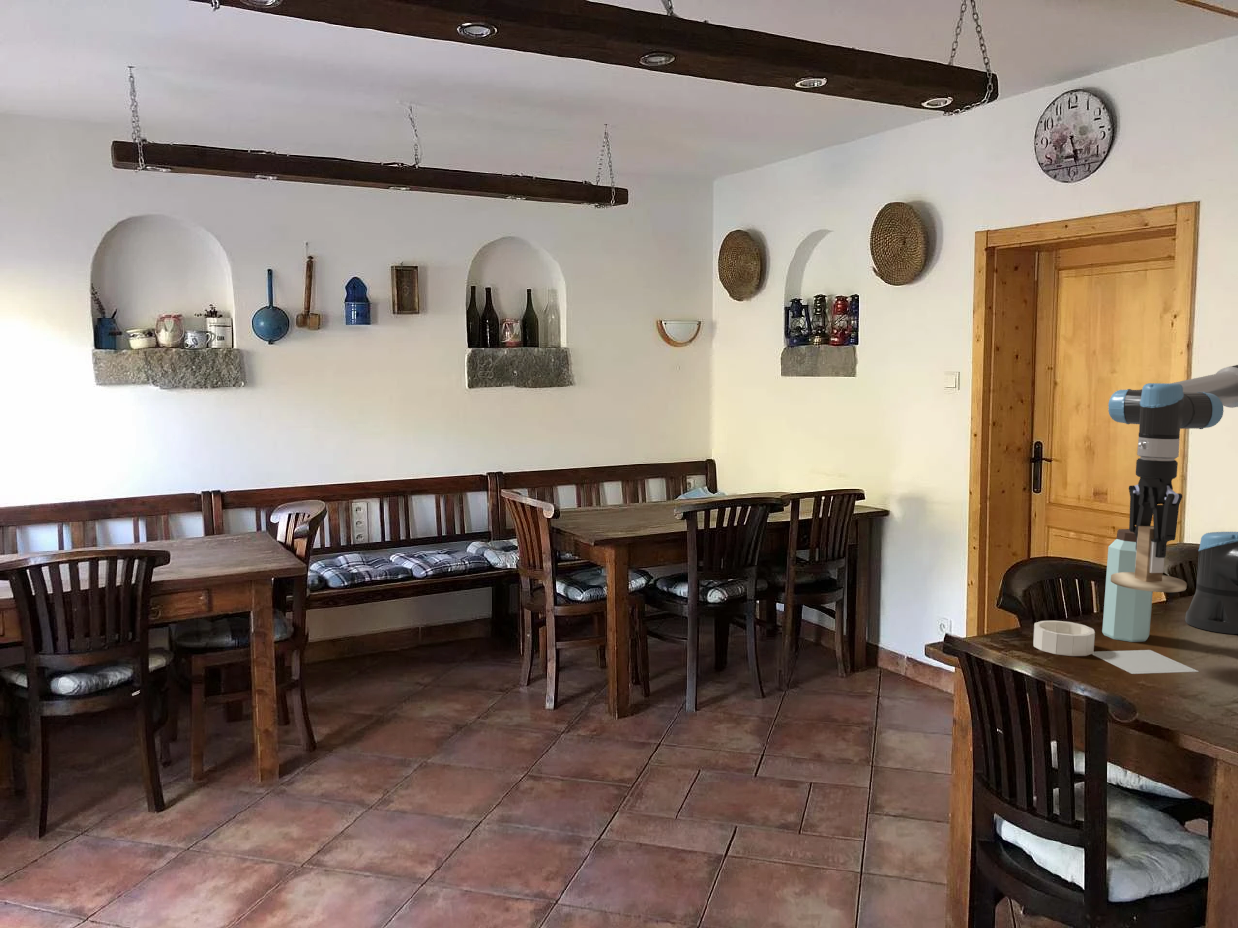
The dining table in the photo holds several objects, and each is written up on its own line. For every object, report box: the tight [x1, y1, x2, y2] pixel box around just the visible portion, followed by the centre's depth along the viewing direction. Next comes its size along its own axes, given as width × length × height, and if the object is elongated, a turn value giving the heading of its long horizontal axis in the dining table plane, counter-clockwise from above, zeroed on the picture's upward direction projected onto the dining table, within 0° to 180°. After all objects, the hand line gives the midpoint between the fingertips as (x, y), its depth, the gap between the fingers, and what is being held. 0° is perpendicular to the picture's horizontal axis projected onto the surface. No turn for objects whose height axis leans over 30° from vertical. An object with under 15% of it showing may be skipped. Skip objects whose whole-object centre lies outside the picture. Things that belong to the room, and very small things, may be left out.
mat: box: [1091, 649, 1200, 675], centre depth 211 cm, size 15×15×1 cm
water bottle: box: [1101, 528, 1154, 643], centre depth 229 cm, size 10×10×25 cm
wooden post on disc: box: [1111, 525, 1188, 593], centre depth 209 cm, size 14×14×12 cm
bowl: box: [1033, 620, 1096, 657], centre depth 220 cm, size 12×12×5 cm
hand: (1149, 569), depth 209 cm, fingers closed on wooden post on disc, 4 cm apart
